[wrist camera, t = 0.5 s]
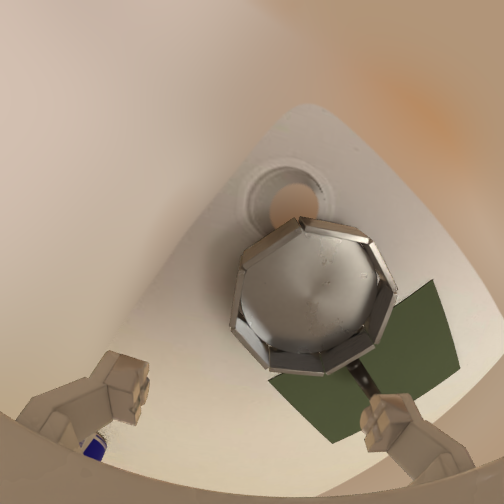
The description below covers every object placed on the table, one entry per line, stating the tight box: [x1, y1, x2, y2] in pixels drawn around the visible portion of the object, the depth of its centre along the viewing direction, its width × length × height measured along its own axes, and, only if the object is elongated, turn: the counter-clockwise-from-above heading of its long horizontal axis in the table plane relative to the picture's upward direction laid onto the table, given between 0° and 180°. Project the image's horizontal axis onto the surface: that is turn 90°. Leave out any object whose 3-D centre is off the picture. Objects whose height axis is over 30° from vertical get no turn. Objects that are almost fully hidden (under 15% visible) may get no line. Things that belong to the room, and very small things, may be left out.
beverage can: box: [79, 432, 107, 462], centre depth 28 cm, size 5×5×15 cm
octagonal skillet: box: [229, 216, 398, 400], centre depth 25 cm, size 20×13×5 cm, turn 35°
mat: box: [268, 280, 460, 444], centre depth 30 cm, size 20×16×1 cm
